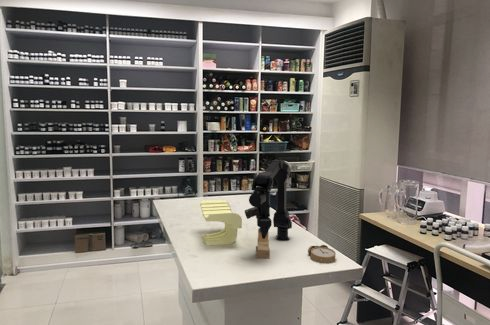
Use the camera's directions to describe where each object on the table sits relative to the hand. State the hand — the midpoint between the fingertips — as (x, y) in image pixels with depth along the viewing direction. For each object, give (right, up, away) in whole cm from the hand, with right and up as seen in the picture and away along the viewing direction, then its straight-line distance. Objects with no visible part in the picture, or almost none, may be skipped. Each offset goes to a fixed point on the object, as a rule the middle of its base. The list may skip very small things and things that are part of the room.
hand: (262, 235), depth 178 cm
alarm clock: (+27, -11, +1) cm, 29 cm away
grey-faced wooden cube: (0, -2, 0) cm, 2 cm away
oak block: (0, -6, +1) cm, 6 cm away
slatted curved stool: (-21, -7, +24) cm, 33 cm away
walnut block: (0, -10, +1) cm, 10 cm away
